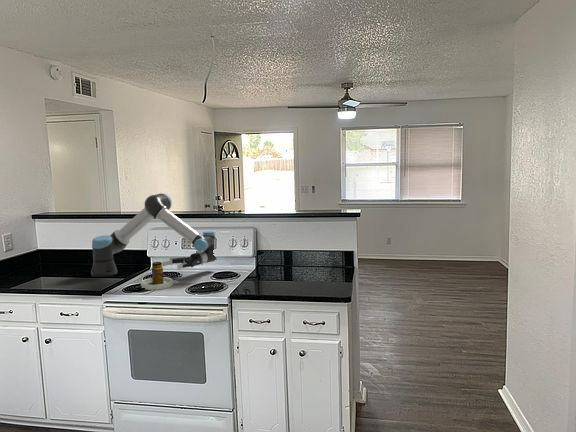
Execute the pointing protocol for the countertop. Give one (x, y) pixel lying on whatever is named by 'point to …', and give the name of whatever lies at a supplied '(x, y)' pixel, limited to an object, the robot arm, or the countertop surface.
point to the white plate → (167, 283)
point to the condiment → (157, 274)
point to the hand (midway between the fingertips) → (170, 265)
